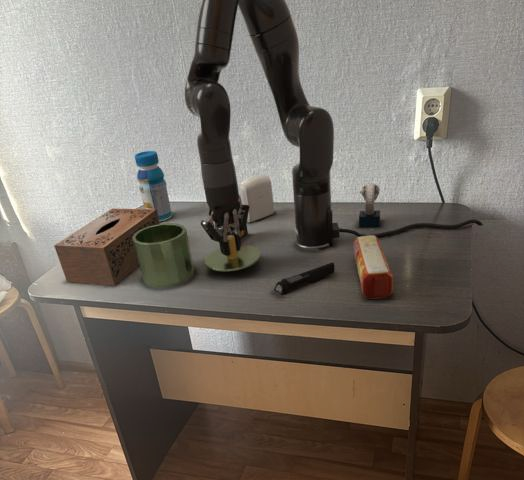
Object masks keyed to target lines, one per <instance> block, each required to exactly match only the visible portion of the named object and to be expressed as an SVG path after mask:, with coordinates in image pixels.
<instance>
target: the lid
mask: <svg viewBox="0 0 524 480" xmlns="http://www.w3.org/2000/svg"><path fill="white" fill-rule="evenodd" d="M227 241H228V242H229V248H230V255H229V256H226V255H223V254H222V253H221V249H220V248H217V249H215V250H214V251H211V252H209V254H207V255H206V256H205V258H204V265H205V267H206V268H208V269H209V270H210V271H211V270H212V271H216V272H235V271H240V270H244V269H246V268H249V267H251V266H253V265H254V264H256V263H257V262H258V261H259V260H260V258H261V251H260V250H259V249H258V248H256V247H254V246H252V245H245V244H241V247H240V250H239V251H237V249H236V242H235V237H234V236H232V235H229V236H228V240H227Z"/></svg>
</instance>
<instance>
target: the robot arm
mask: <svg viewBox="0 0 524 480" xmlns="http://www.w3.org/2000/svg"><path fill="white" fill-rule="evenodd" d="M238 9H239V11H240V14H241V16H242V19H243V22H244V24H245V27H246V30H247V33H248V36H249V38H250V42H251V43H252V46H253V49H254V52H255V53H256V57H257V58H258V61H259V63H260V66H261V68H262V71H263V74H264V77H265V79H266V81H267V84H268V86H269V88H270V91H271V94H272V97H273V100H274V104H275V107H276V111H277V114H278V118H279V123H280V126H281V129H282V132H283V135H284V137H285V139H286V141H288V142H289V143H290V144H291V145H292V146H294V147H296V148H299V162H298V163H297V164H295V165H294V166H293V167H292V169H291V179H292V190H293V192H292V193H293V194H292V195H293V207H294V222H295V226H293V228H294V229H293V230H294V233H295V235H296V236H295V237H296V238H295V240H296V242H295V243H296V246H297V247H298V248H300V249H303V250H308V251H309V250H319V251H322V250H326V249H328V248H331V247H334V239H340V237H341V236H340V233H343V234H345V233H346V234H351V235H355V236H356V237H357V238H358V237H361V236H368V235H369V234H364V233H360V232H358V231H356V230H353V229H349V228H340V227H339V223H338V222H334V221H333V209H332V191H331V189H332V188H331V187H332V186H331V185H332V184H331V169H332V167H333V164H334V154H335V153H334V152H335V151H334V149H335V147H334V145H335V127H334V121H333V118H332V115H331V114H330V112H329V111H327V109H324V108H322V107H319V106H313V105H310V103H309V101H308V99H307V97H306V94H305V91H304V88H303V86H302V83H301V79H300V73H299V72H300V71H299V70H300V67H299V66H300V43H299V36H298V33H297V29H296V27H295V24H294V20H293V18H292V17H293V16H292V14H291V11H290V9H289V7H288V4H287V2H286V0H202V2H201V6H200V9H199V14H198V20H197V27H196V35H195V44H194V53H193V58H192V60H191V63H190V67H189V70H188V74H187V77H186V81H185V86H184V103H185V106H186V108H187V110H188V111H189V112H190V114H192V115H193V116H195V117H198V118H199V120H200V132H199V134H198V135H197V137H196V146H197V151H198V155H199V162H200V173H201V179H202V185H203V190H204V195H205V201H206V204H207V206H208V216H207V218H206V219H205V220H204V219H202V220H201V221H200V226H201V227H202V228H203V230H204V232H205V233H206V234H207V236H208V237H209V239H210V240H211V241H214V242H217V243H218V244H219V249H221V253H222V254H223V255H226V256H229V255H230V248H229V242H228V241H227V240H228V236H227V232H228V231H229V230H230V233H231V234H232V236H234V237H235V242H236V249H237V251H239V250H240V247H241V245H242V243H241V240H240V234H241V231H242V230H243V231H244V230H245V229H246V223H248V222H247V218H248V213H249V205H246V204H240V202H239V201H238V200H239V195H240V191H239V185H238V179H237V177H238V176H237V171H236V166H235V163H234V158H233V151H232V145H231V140H230V132H231V114H232V110H231V101H230V97H229V94H228V92H227V89H226V88H225V87H224V85H222V84H221V83H220V82H219V80H220V76H221V73H222V71H223V70H224V69H225V68H227V67H228V65H229V63H230V60H231V55H232V47H233V40H234V33H235V25H236V20H237V13H238ZM241 220H242V223H241ZM469 224H476V225H477V226H483V225H484V224H483V223H482V221H481V220H478V219H476V218H475V219H473V218H472V219H467V220H465V221H462V222H459V223H456V224H441V223H431V222H418V223H417V222H416V223H412V224H408V225H405V226H402V227H400V228H396V229H393V230H389V231H388V230H387V231H383V232H380V233H373V234H372V235H374V236H376V237H377V238H381V237H386V236H392V235H395V234H398V233H401V232H405V231H407V230H410V229H414V228H421V227H423V228H424V227H426V228H427V227H428V228H435V229H448V230H449V229H451V230H452V229H459V228H462V227H464V226H467V225H469ZM228 227H229V228H228Z"/></svg>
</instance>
